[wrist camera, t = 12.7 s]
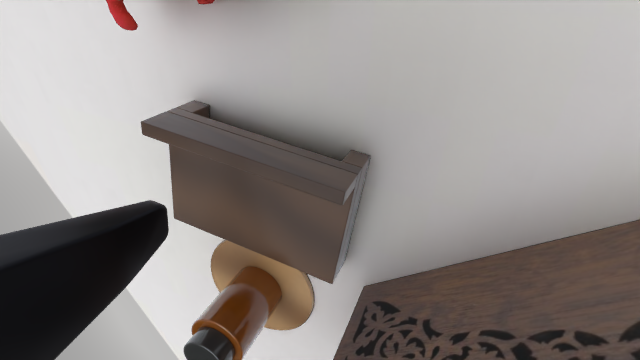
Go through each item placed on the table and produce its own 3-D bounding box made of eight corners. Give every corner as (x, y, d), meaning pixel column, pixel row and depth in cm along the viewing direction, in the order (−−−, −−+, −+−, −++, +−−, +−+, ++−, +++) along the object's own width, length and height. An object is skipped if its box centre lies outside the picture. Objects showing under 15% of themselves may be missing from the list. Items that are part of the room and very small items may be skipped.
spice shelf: (345, 260, 25) (320, 307, 22) (196, 201, 28) (152, 234, 25) (371, 155, 21) (345, 192, 17) (194, 99, 24) (140, 121, 21)
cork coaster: (306, 342, 31) (304, 346, 30) (213, 299, 33) (210, 302, 33) (322, 262, 26) (320, 266, 26) (213, 218, 28) (210, 221, 28)
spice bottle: (279, 314, 30) (229, 393, 24) (236, 294, 31) (178, 365, 25) (284, 278, 28) (230, 355, 22) (238, 258, 29) (175, 327, 23)
